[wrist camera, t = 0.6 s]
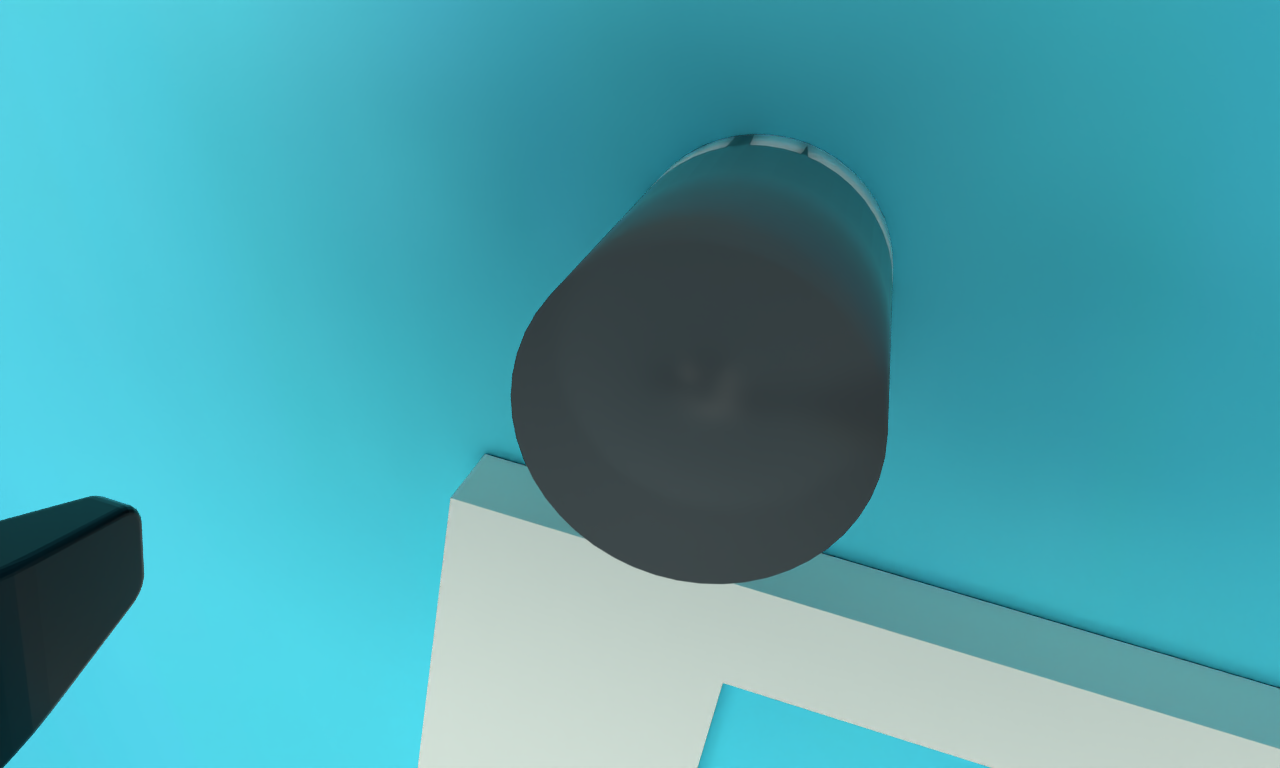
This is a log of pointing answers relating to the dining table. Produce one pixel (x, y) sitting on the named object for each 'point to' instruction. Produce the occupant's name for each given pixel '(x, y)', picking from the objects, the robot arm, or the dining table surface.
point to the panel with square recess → (782, 661)
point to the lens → (717, 367)
